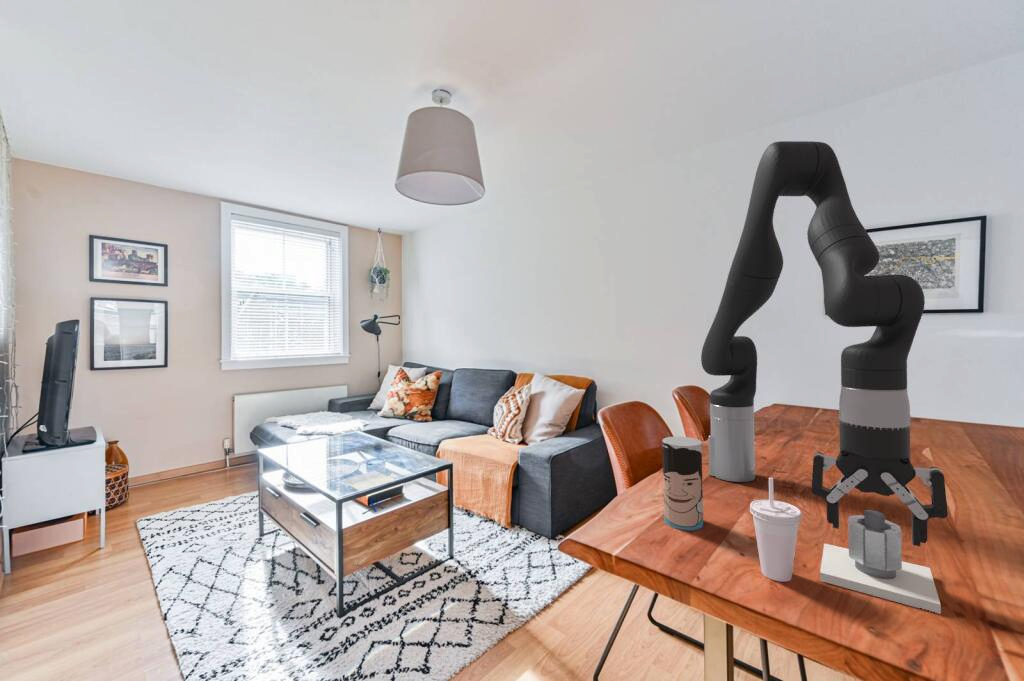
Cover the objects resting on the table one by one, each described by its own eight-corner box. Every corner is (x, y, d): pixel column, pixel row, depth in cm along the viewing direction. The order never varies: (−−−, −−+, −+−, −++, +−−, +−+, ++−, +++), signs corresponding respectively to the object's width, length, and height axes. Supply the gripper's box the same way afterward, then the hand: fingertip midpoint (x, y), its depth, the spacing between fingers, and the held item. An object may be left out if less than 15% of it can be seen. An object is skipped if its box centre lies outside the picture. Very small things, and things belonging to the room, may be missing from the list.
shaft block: (820, 580, 60) (819, 515, 60) (824, 550, 68) (823, 493, 68) (940, 614, 53) (940, 539, 52) (929, 576, 60) (929, 511, 60)
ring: (848, 561, 60) (848, 526, 60) (848, 545, 64) (848, 512, 64) (903, 575, 56) (902, 537, 56) (899, 556, 61) (899, 521, 61)
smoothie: (741, 563, 65) (739, 471, 65) (781, 560, 66) (780, 469, 65) (770, 589, 59) (768, 487, 58) (814, 585, 59) (813, 484, 59)
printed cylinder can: (656, 518, 81) (654, 439, 81) (683, 511, 84) (681, 435, 84) (683, 533, 75) (681, 448, 75) (711, 525, 78) (710, 442, 77)
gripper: (808, 419, 61) (810, 531, 62) (950, 431, 52) (951, 562, 53) (812, 410, 67) (814, 513, 68) (941, 420, 58) (941, 538, 59)
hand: (874, 534), depth 60 cm, fingers open, 8 cm apart
